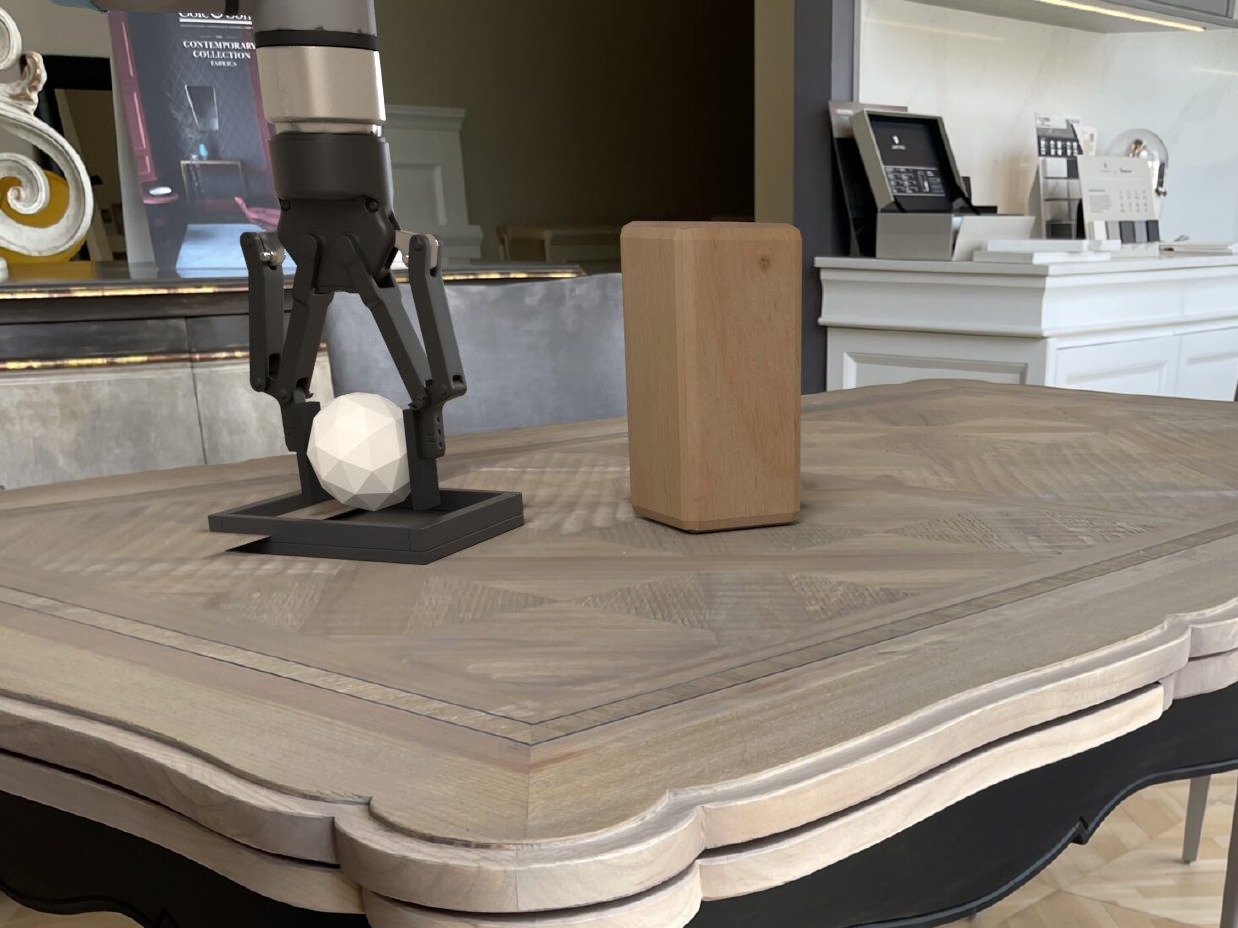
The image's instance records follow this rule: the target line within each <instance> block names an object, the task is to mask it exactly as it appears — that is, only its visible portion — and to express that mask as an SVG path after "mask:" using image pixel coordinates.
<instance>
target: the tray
mask: <svg viewBox="0 0 1238 928" xmlns="http://www.w3.org/2000/svg"><path fill="white" fill-rule="evenodd" d="M439 494H440V504H441V505H439V506H436V507H433V508H430V509H427V510H424V511H414V510H413V505H412V496H411V492H410V493H409V494H408V496H407V497H406V499H405V500H404V501H403V502H400V503H397V504H394V505H391V506H388V507H385V508H382V509H379V510H376V511H371V510H366V509H361V508H354V509H351V510H347V511H344V512H341V513H338V514H335V515H332V516H329V517H326V518H321V519H317V518H302V517H283V515H286V514H289V513H292V512H295V511H298V510H299V511H300V510H303V509H305V508H309V507H312V506H315V505H319V504H322V503H325V502H330V501H332V500H337V499H336V498H335V497H333V496H332V499H330V500H327V501H323V502H320V503H317V504H313V505H310V504H303V498H302V491H301V488H300V489H297V490H294V491H290V492H287V493H283V494H279V495H276V496H271V497H268V498H265V499H262V500H258V501H254V502H250V503H247V504H244V505H240V506H236V507H233V508H228V509H225V510H222V511H219V512H215V513H211V514H207V523H208V528H209V532H210V533H224V534H225V533H226V534H239V535H240V534H242V535H256V536H266V537H263V538H259V539H257V540H253V541H249V542H246V543H243V544H241V545H237V546H235V547H231V548H228V549H225V550H224V552H231V553H232V552H234V553H247V554H248V553H249V554H250V553H251V554H261V555H263V554H264V555H278V556H292V557H306V558H307V557H309V558H320V559H321V558H325V559H337V560H352V561H366V562H367V561H368V562H381V563H382V562H383V563H397V564H412V565H427V564H430V563H432V562H435V561H437V560H439V559H441V558H444V557H447V556H450V555H452V554H454V553H457V552H460V551H461V550H464V549H467V548H469V547H471V546H474V545H476V544H478V543H481V542H484V541H486V540H489V539H491V538H493V537H496V536H499V535H501V534H503V533H506V532H509V531H510V530H514V529H515V528H518V527H522V526H524V525H525V514H524V502H523V501H524V499H523V492H522V491H509V490H494V489H493V490H491V489H474V488H455V487H439Z"/></svg>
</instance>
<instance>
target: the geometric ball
mask: <svg viewBox="0 0 1238 928" xmlns="http://www.w3.org/2000/svg"><path fill="white" fill-rule="evenodd" d="M402 410H403V409H402V408H400V406H398V405H396V404H395V403H394V402H393V401H391V400H390V399H388V398H386V397H384V396H382V395H380V394H374V393H367V392H359V391H355V392H351V393H347V394H342V395H339V396H337V397H335V398H333V399H331V400H328V401H326V403H325V404H324V406H322V407H321V410H320V411H319V413H318V414H317V415H316V416H315V418H314V420H313V425H312V430H311V435H310V440H309V445H308V450H307V456H308V458H309V460H310V462H311V464H312V466H313V469H314V471H315V473H316V475H317V477H318V479H319V482H320V484H321V486H322V488H323V489H325V490H326V491H327V492H328V493H330V494H331V495H332V496H333V497H335V498H336V499H335V500H337V501H338V502H339V503H340V504H342V505H345V506H349V507H352V508H355V509H357V508H361V509H366V510H371V511H376V510H379V509H382V508H385V507H388V506H391V505H394V504H397V503H400V502H403V501H404V500H405V499H406V497H407V496H408V494H409V493H410V492H411V486H410V477H409V468H408V458H407V449H406V440H405V431H404V421H403V412H402Z"/></svg>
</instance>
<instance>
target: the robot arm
mask: <svg viewBox="0 0 1238 928" xmlns="http://www.w3.org/2000/svg"><path fill="white" fill-rule="evenodd" d="M47 1H48V2H50V3H51V4H52V5H55V6H58V7H65V8H75V9H86V10H91V11H96V12H98V13H100V14H109V13H110V12H111V11H112V12H113V11H114V12H137V13H138V12H139V13H142V12H143V13H160V14H161V13H162V14H163V13H164V14H205V15H206V14H207V15H209V14H210V15H223V16H225V17H237V16H245V17H250V20H251V26H252V30H253V34H254V35H253V39H254V47H255V53H256V60H257V61H256V62H257V69H258V76H259V77H258V78H259V86H260V95H261V102H262V109H263V116H264V117H263V118H264V120H265V121H266V122H267V123H269V124H271V125H275V130H276V133H275V134H270V139H269V140H267V143H268V144H267V145H268V151H269V158H270V165H271V173H272V181H273V190H274V192H275V195H276V197H277V200H278V203H279V207H280V213H279V219H278V222H277V225H276V228H273V229H269V230H265V231H244V232H242V233H241V234H240V235H239V245H240V248H241V251H242V255H243V259H244V262H245V266H246V269H247V279H248V281H247V283H248V284H247V286H248V287H247V288H248V292H247V293H248V294H247V295H248V357H249V359H248V360H249V361H248V362H249V363H248V365H249V385H250V387H251V389H252V390H253V391H255V392H256V393H264V394H266V395H268V396H270V397H272V398H274V399H275V400H276V401H277V403H278V405H279V409H280V415H281V422H282V429H283V435H284V438H283V439H284V444H285V447H286V449H287V450H288V452H289V453H290V452H292V453H296V461H297V468H298V477H299V483H300V489H301V491H302V498H303V504H310V505H312V506H314V505H313V504H316V505H318V504H317V503H319V504H321V503H320V502H322V503H324V502H323V501H326V502H328V501H327V500H329V501H331V500H330V499H332V495H331V494H330V493H328V492H327V491H326V490H325V489H323V488H322V486H321V484H320V482H319V479H318V477H317V475H316V473H315V471H314V469H313V466H312V464H311V462H310V460H309V458H308V456H307V450H308V445H309V440H310V435H311V430H312V425H313V420H314V418H315V416H316V415H317V414H318V413H319V411H320V410H321V409H322V407H321V401H317V400H309V399H311V398H313V396H314V393H313V392H311V391H310V389H311V383H312V381H313V375H314V371H315V367H316V363H317V362H316V361H317V357H318V353H319V348H320V343H321V339H322V335H323V331H324V327H325V322H326V317H327V313H328V309H329V306H330V305H331V304H332V302H333V301H334V297H335V294H336V293H342V292H343V293H344V292H345V293H348V294H351V295H352V294H353V295H354V294H355V295H359V299H360V300H361V302H362V303H363V305H364V307H366V308H367V309H368V310H369V311H370V313H371V315H372V317H373V320H374V322H375V324H376V326H377V328H378V330H379V332H380V335H381V337H382V339H383V342H384V343H385V346H386V348H387V350H388V352H389V354H390V356H391V359H392V361H393V363H394V365H395V368H396V370H397V372H398V374H399V376H400V378H401V380H402V384H403V385H404V387H405V390H406V392H407V394H408V396H409V398H410V400H411V401H410V403H407V406H408V407H409V408H405V409H402V412H403V421H404V431H405V440H406V449H407V458H408V468H409V477H410V486H411V496H412V505H413V510H414V511H424V510H427V509H430V508H433V507H436V506H439V505H441V504H440V494H439V488H440V485H439V473H438V466H437V459H439V458H442V457H445V454H446V449H447V447H446V445H447V444H446V436H445V423H444V416H443V408H444V405H445V404H446V403H447V402H450V401H452V400H454V399H457V398H459V397H463V396H465V395H466V393H467V391H468V383H467V380H466V375H465V371H464V367H463V362H462V358H461V353H460V349H459V344H458V340H457V335H456V332H455V327H454V323H453V319H452V314H451V313H452V312H451V310H450V305H449V301H448V297H447V292H446V288H445V282H444V279H443V257H444V256H443V255H444V242H443V239H442V237H441V236H440V235H438V234H436V233H417V232H412V231H408V230H404V229H402V227H401V224H400V222H399V221H398V219H397V216H396V214H395V210H394V195H395V189H394V178H393V170H392V161H391V151H390V143H389V142H387V141H386V137H385V136H381V135H379V130H378V127H381V126H382V127H383V125H384V124H385V123H386V121H387V116H386V105H385V98H384V88H383V79H382V68H381V59H380V58H381V57H380V53H379V45H378V44H379V42H378V34H377V23H376V14H375V13H376V12H375V11H376V9H375V1H374V0H47ZM399 252H400V253H401V255H402V256H401V261H402V263H403V264H404V265H405V267H406V268H407V273H408V281H409V286H410V291H411V296H412V300H413V304H414V308H415V312H416V316H417V320H418V324H419V329H420V334H421V338H422V342H423V344H422V343H421V340H420V338H419V336H418V333H417V331H416V329H415V327H414V324H413V322H412V320H411V318H410V316H409V314H408V311H407V310H406V307H405V305H404V303H403V293H402V290H401V288H400V286H399V283H398V281H397V279H396V276H395V274H394V272H393V270H392V265H393V263H394V261H395V259H396V257H397V256H398V253H399ZM286 253H287V254H288V256H289V257H290V258H291V260H292V261H293V263H294V264H295V266H296V268H295V273H294V277H293V281H292V287H291V291H290V295H291V298H292V304H291V310H290V314H289V320H288V325H287V329H286V335H285V278H284V274H285V273H284V268H283V264H284V261H285V260H286V259H287V258H286V257H287V254H286ZM423 345H424V347H423ZM306 400H309V401H306ZM332 500H333V499H332Z"/></svg>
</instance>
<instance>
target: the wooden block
mask: <svg viewBox="0 0 1238 928" xmlns="http://www.w3.org/2000/svg"><path fill="white" fill-rule="evenodd" d="M619 242H620V243H619V245H620V267H621V268H620V270H621V289H622V290H621V291H622V316H623V339H624V341H623V342H624V359H625V360H624V362H625V364H624V366H625V386H626V388H625V389H626V413H627V431H628V432H627V435H628V437H627V438H628V459H629V460H628V463H629V483H630V486H629V487H630V504H631V506H632V510H633V512H634V513H635V514H636V515H638V516H641V517H643V518H646V519H649V520H653V521H655V522H659V523H662V524H664V525H668V526H671V527H674V528H677V529H680V530H682V531H685V532H689V533H691V534H700V533H710V532H719V531H720V532H722V531H731V530H732V531H733V530H739V529H740V530H742V529H752V528H761V527H772V526H781V525H788V524H789V523H792V522H794V521H796V520H798V518H799V516H800V512H801V443H802V441H801V434H802V433H801V432H802V431H801V429H802V427H801V425H802V424H801V423H802V422H801V420H802V319H803V318H802V315H803V314H802V311H803V309H802V304H803V303H802V301H803V300H802V299H803V298H802V297H803V295H802V293H803V289H802V288H803V238H802V234H801V231H800V229H799V228H797V227H795V226H794V225H792V224H790V223H789V222H754V221H753V222H750V221H749V222H748V221H681V220H680V221H676V220H675V221H672V220H670V221H669V220H667V221H665V220H664V221H663V220H661V221H659V220H655V221H654V220H644V221H643V220H633V221H630V222H628V223H627V224H625V225H623V226H622V227H621V231H620V236H619Z"/></svg>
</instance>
